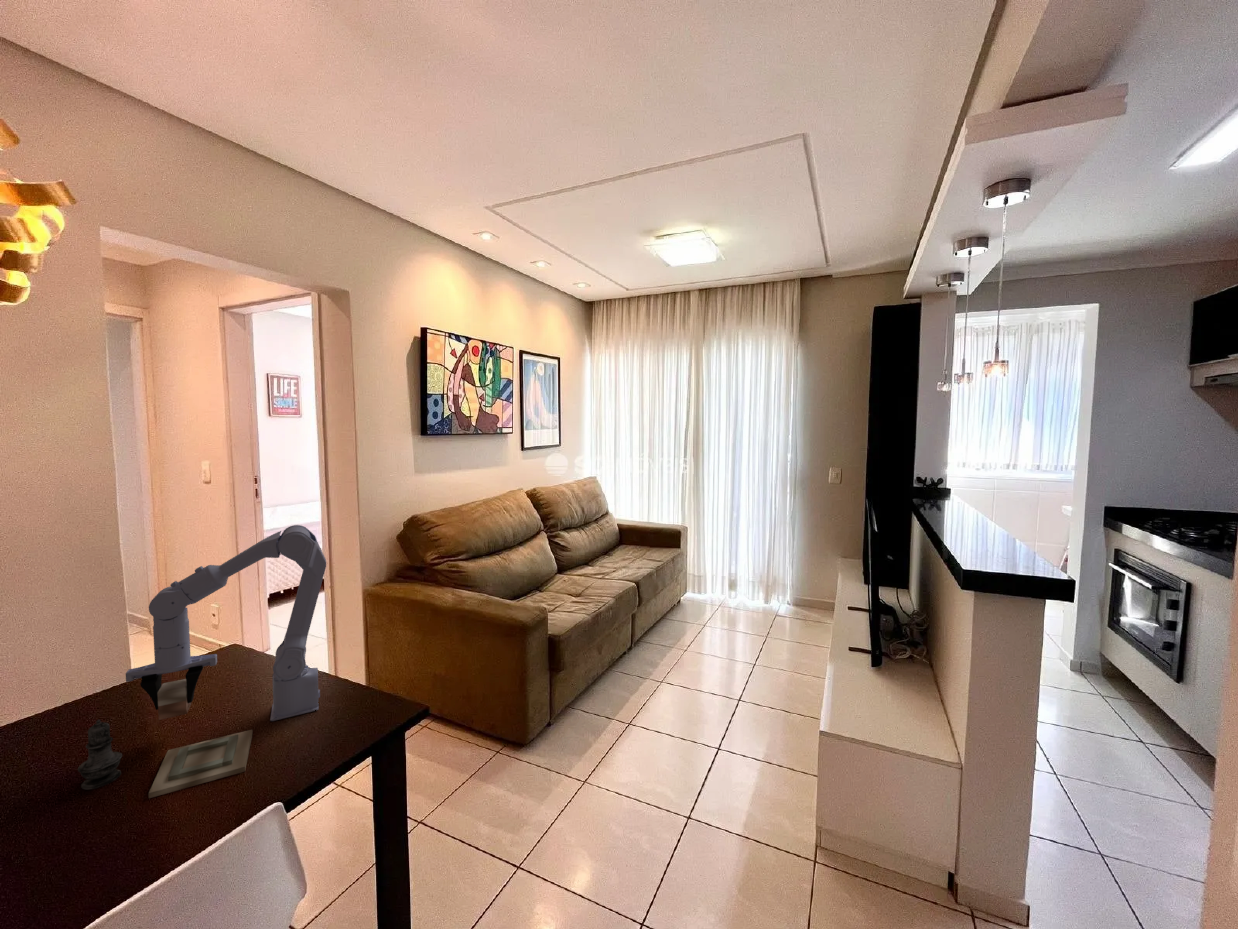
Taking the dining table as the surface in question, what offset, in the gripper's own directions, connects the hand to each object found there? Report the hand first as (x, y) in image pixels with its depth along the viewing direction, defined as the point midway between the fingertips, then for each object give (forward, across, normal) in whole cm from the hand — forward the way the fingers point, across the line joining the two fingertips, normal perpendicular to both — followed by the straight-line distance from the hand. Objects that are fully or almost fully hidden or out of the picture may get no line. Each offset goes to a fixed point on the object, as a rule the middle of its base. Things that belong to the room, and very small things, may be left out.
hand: (175, 704), depth 106 cm
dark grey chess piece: (+8, +9, +10) cm, 16 cm away
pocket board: (+7, -7, +14) cm, 17 cm away
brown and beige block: (+2, 0, 0) cm, 2 cm away
